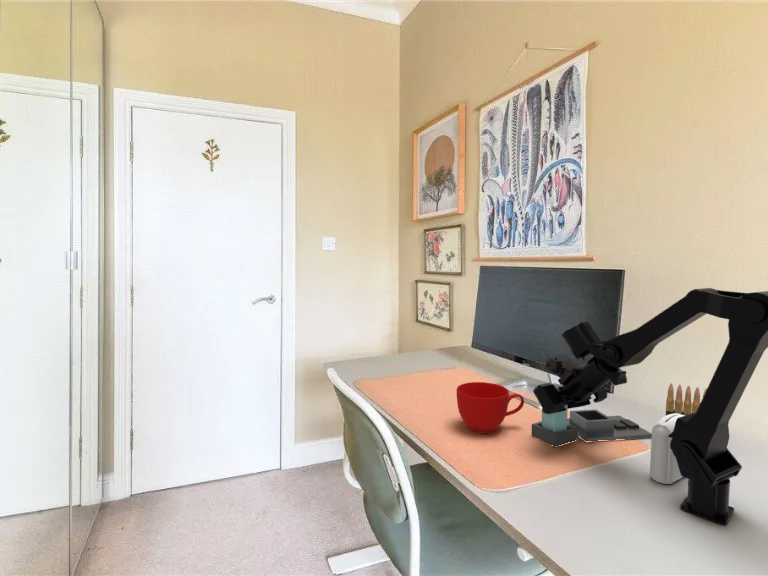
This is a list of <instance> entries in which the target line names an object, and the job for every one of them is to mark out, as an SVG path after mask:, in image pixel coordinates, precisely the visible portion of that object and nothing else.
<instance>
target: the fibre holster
mask: <svg viewBox="0 0 768 576" xmlns="http://www.w3.org/2000/svg"><path fill="white" fill-rule="evenodd" d="M531 435H532V436H534V437H536V438H538V439H540V440H539V441H541V440H542V441H541V442H543V441H544V442H543V443H545V442H546V443H545V444H547V443H548V444H547V445H549V444H550V445H549V446H551V445H553V446H554V447H553V446H552V447H553V448H555V447H556V446H559V445H562V444H565V443H568V442H572V441H575V440H577V441H578V436H577V429H576V428H574V427H571V426H569V425H567V430H565V431H561V432H557V433H554V432H552V431H550V430H547V429H545V428H543V427H542V421H539V422H534V423H531ZM531 435H530V436H531ZM532 436H531V437H532ZM534 437H533V438H534ZM536 438H535V439H536ZM538 439H537V440H538ZM559 447H560V446H559ZM556 448H557V447H556Z"/></svg>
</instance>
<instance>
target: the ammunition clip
mask: <svg viewBox="0 0 768 576" xmlns="http://www.w3.org/2000/svg"><path fill="white" fill-rule="evenodd" d="M676 388H677V389H676V395H675V394H674V391H675V390H674V385H673V383H672V382H671V383H670V384H669V385H668V389H667V395H666V396H667V397H666V400H665V401H666V403H665V416H667V415H669V414H674V413H678V414H681V415H689V414H692V413H695V412H697V409H698V407H699V405H700V403H701V392H700V388H699V387H698V386H696V387H695V390H694V394H693V400H692V391H691V387H690V385H687V387H686V389H685V394H684V400H683V389H682V385H681V384H679V385H678V386H677V387H676ZM707 388H708V387H705V389H704V392H703V394H702V398H703V397H704V394H705V392H706V390H707ZM674 395H675V396H674ZM674 397H675V398H674ZM692 401H693V402H692Z"/></svg>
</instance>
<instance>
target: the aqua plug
mask: <svg viewBox="0 0 768 576" xmlns="http://www.w3.org/2000/svg"><path fill="white" fill-rule="evenodd" d="M552 384H554V386H555V388H556V389H557V388H558V387H563V385H560V383H559V384H558V383H556V382H554V383H552ZM557 391H558V389H557ZM558 392H559V391H558ZM564 407H565V408H566V411H561V412H556V413H552V414H547V413H546V414H544V413H543V411H542V410H541V422H542V427H543V428H545V429H547V430H550V431H552V432H554V433H557V432H561V431H565V430H567V419H568V410H569V409H568V404H567V405H565V406H564Z"/></svg>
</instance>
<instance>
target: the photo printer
mask: <svg viewBox="0 0 768 576" xmlns="http://www.w3.org/2000/svg"><path fill="white" fill-rule="evenodd" d="M682 416H686V415H681V414H678V413H674V414H669V415H667V416H666V415H664V416H663V417H662V418H660V419H658V420H657V422H655V423H654V425H653V427H652V430H651V434H652V438H651V439H650V440H651V444H650V445H651V446H650V459H649V477H651V478H652V480H653V481H656V482H658V483H660V484H664V485H667V484H668V485H670V484H674V483H675V482H677V481H679V480H680V479H682V478H684V477H683V476H681V474H680V470H679V467H678V464H677V460H676V457H675V456H674V454H673V452H672V450H671V449H670V442H671V439H672V438H670V437H668V435H670V434H671V433H672V432H673V430H674V427H675V422H676V420H677V418H679V417H682Z"/></svg>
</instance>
